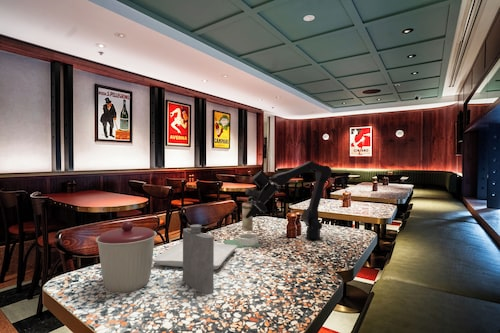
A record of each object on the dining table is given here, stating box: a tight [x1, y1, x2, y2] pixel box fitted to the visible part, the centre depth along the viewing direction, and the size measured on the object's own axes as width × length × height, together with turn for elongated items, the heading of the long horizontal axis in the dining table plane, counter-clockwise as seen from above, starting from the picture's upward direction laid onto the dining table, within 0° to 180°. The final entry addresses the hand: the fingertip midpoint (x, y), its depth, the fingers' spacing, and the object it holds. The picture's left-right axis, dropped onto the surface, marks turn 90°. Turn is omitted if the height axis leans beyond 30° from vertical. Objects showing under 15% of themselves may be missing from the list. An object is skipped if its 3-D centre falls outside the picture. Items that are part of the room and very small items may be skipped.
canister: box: [94, 220, 157, 294], centre depth 90 cm, size 18×18×21 cm
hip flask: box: [182, 224, 215, 295], centre depth 90 cm, size 16×4×20 cm, turn 42°
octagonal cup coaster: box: [223, 233, 261, 249], centre depth 137 cm, size 18×15×4 cm
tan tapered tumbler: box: [241, 202, 254, 232], centre depth 138 cm, size 5×5×13 cm
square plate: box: [152, 241, 238, 270], centre depth 115 cm, size 27×27×4 cm
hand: (244, 216), depth 138 cm, fingers closed on tan tapered tumbler, 5 cm apart
